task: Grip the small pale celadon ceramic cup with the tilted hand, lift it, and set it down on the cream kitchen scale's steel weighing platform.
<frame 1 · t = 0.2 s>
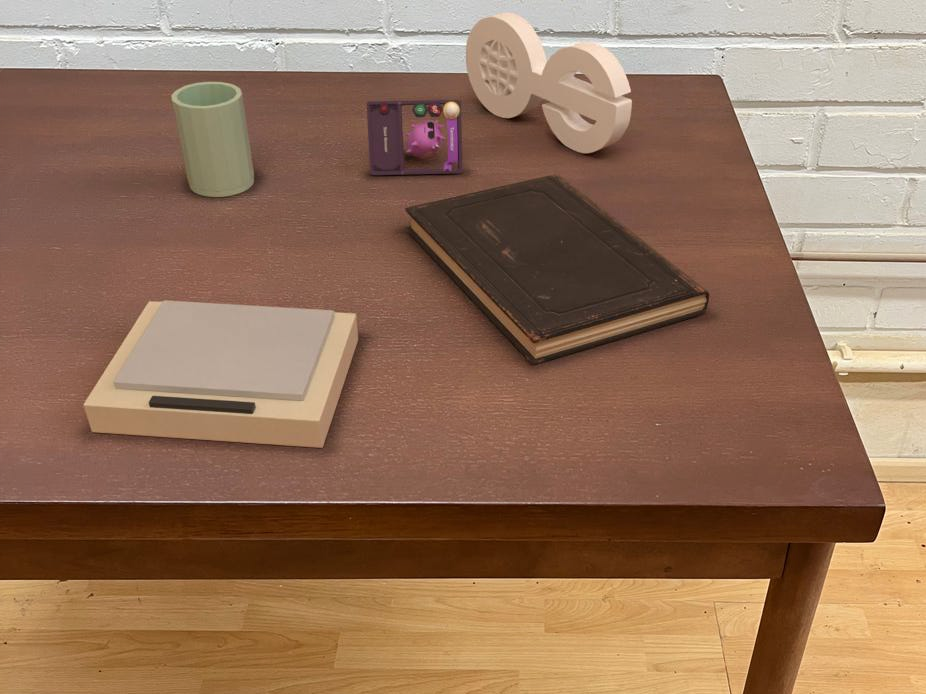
beige logo cutout: (541, 131, 107), on the table
cup: (221, 182, 97), on the table
game card: (416, 166, 100), on the table
scale: (232, 383, 73), on the table
hardcover book: (548, 272, 85), on the table
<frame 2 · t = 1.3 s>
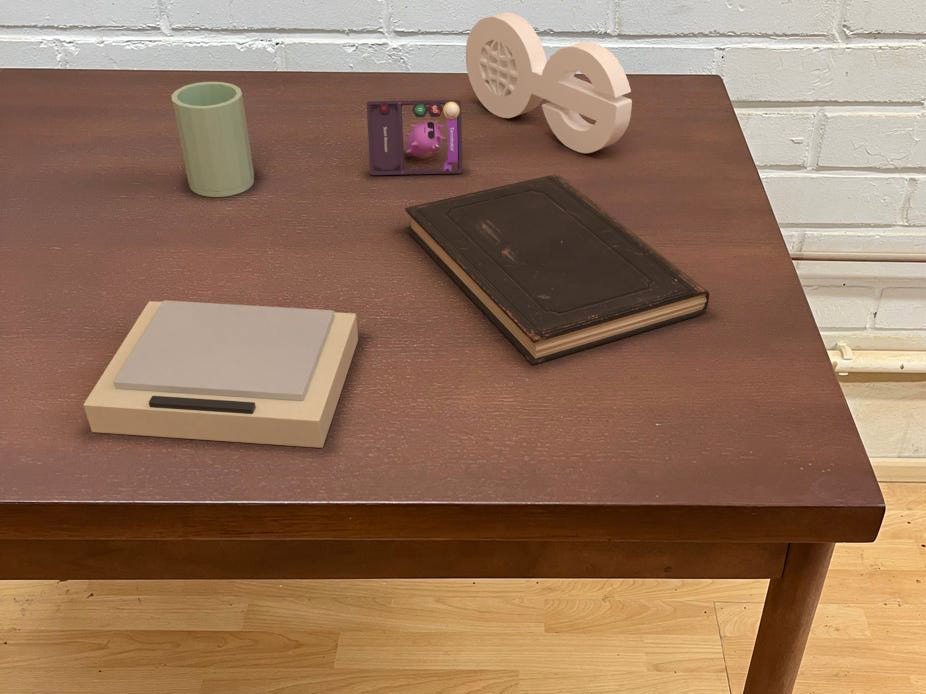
nothing on the table moved.
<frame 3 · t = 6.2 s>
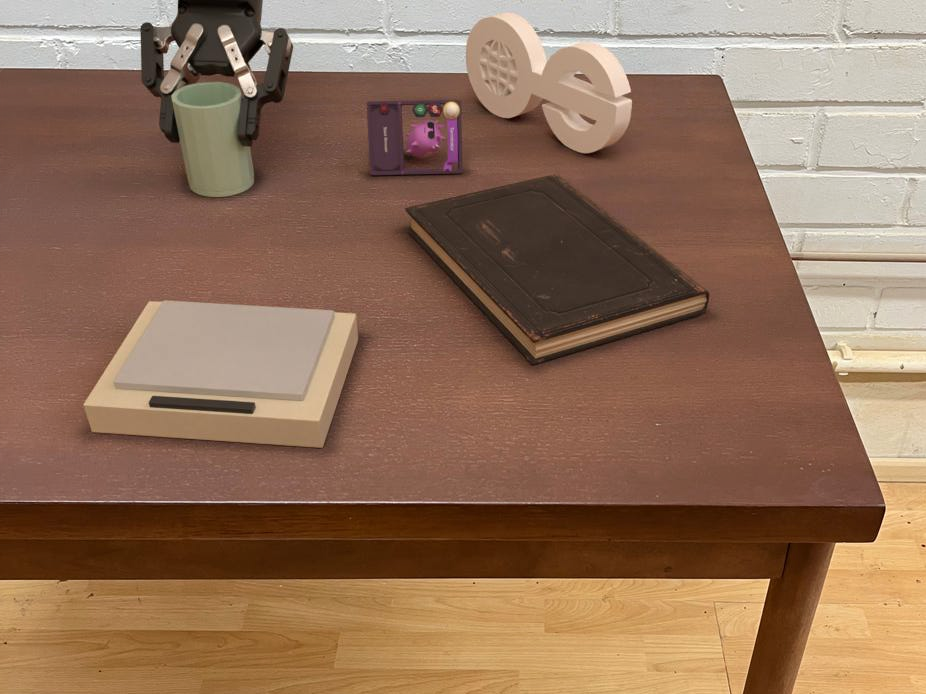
hand: (208, 140, 92), 5 cm above the table, tool tilted 45°, fingers closed on cup, 6 cm apart
cup: (221, 182, 97), on the table, touching gripper
everything else where it was.
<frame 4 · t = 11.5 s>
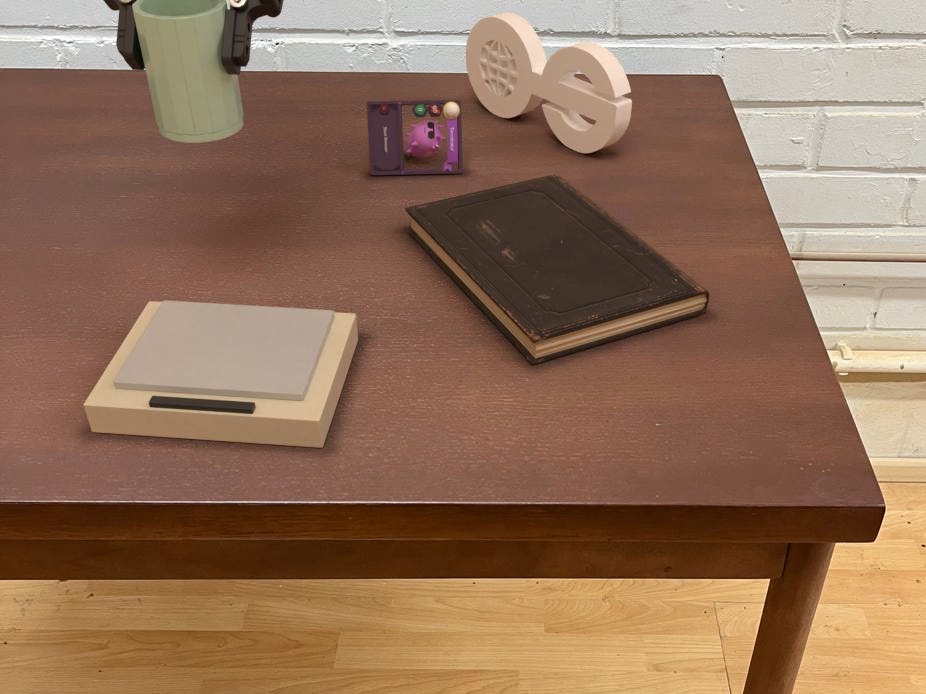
hand: (182, 66, 69), 18 cm above the table, tool tilted 45°, fingers closed on cup, 6 cm apart
cup: (201, 125, 74), point 13 cm above the table, touching gripper
everything else where it was.
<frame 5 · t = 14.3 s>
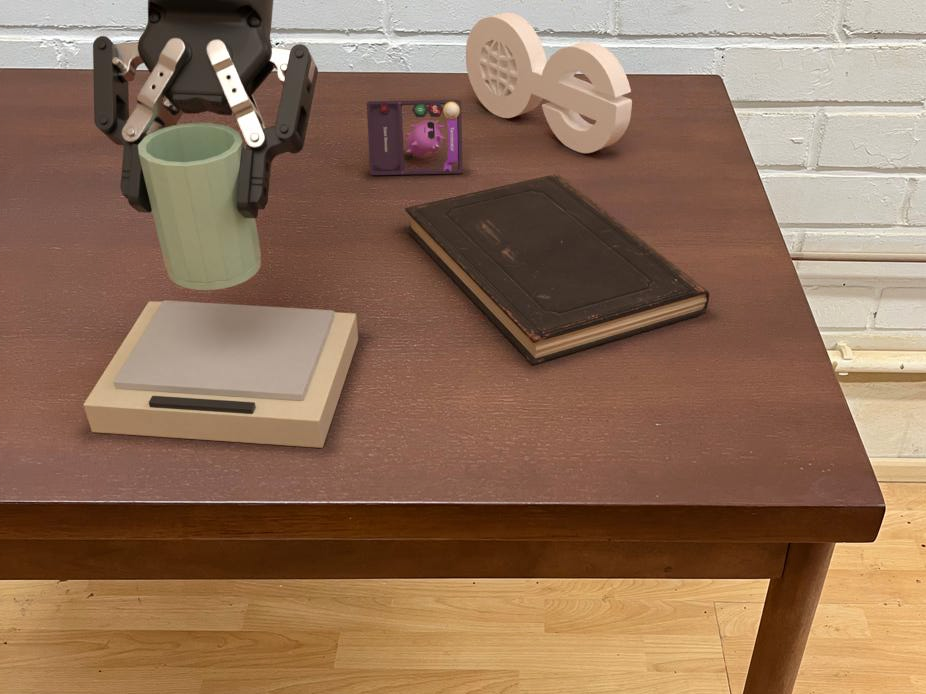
hand: (193, 210, 63), 14 cm above the table, tool tilted 45°, fingers closed on cup, 6 cm apart
cup: (214, 266, 67), point 9 cm above the table, touching gripper
everything else where it was.
when the fingers open (8 cm above the table, at t = 16.6 s): cup stays where it is, resting on scale.
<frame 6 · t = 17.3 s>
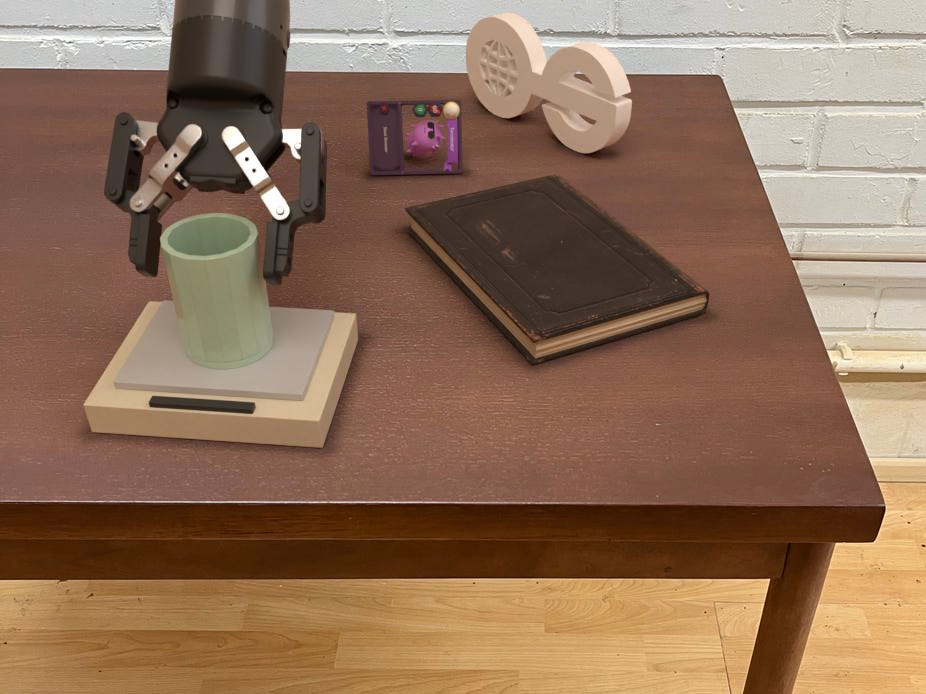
hand: (209, 278, 66), 9 cm above the table, tool tilted 45°, fingers open, 8 cm apart
cup: (229, 343, 71), point 3 cm above the table, touching scale
everything else where it was.
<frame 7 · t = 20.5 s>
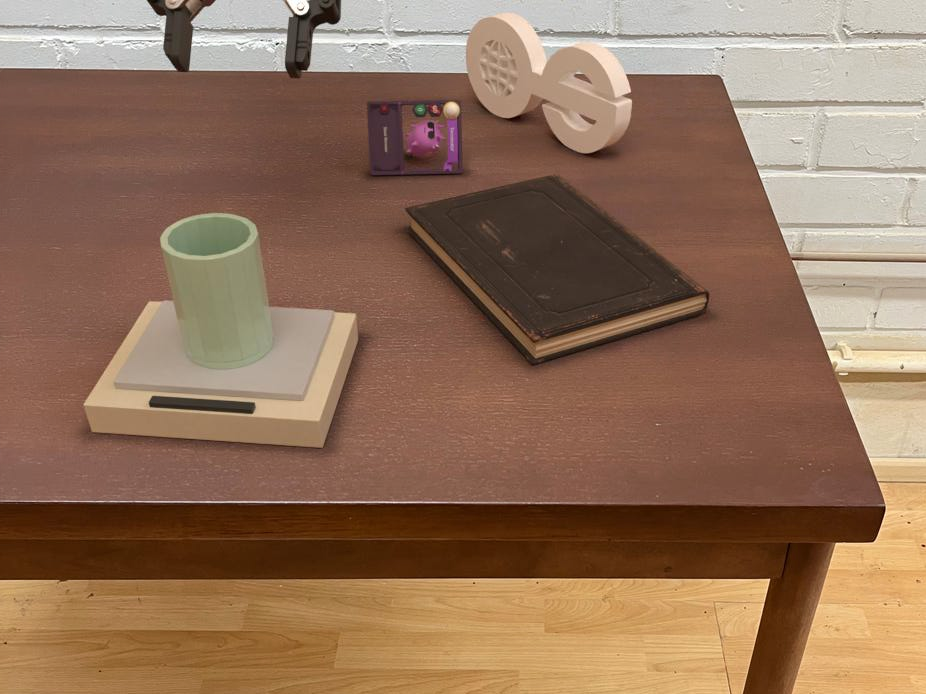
hand: (235, 70, 74), 16 cm above the table, tool tilted 45°, fingers open, 8 cm apart
nothing on the table moved.
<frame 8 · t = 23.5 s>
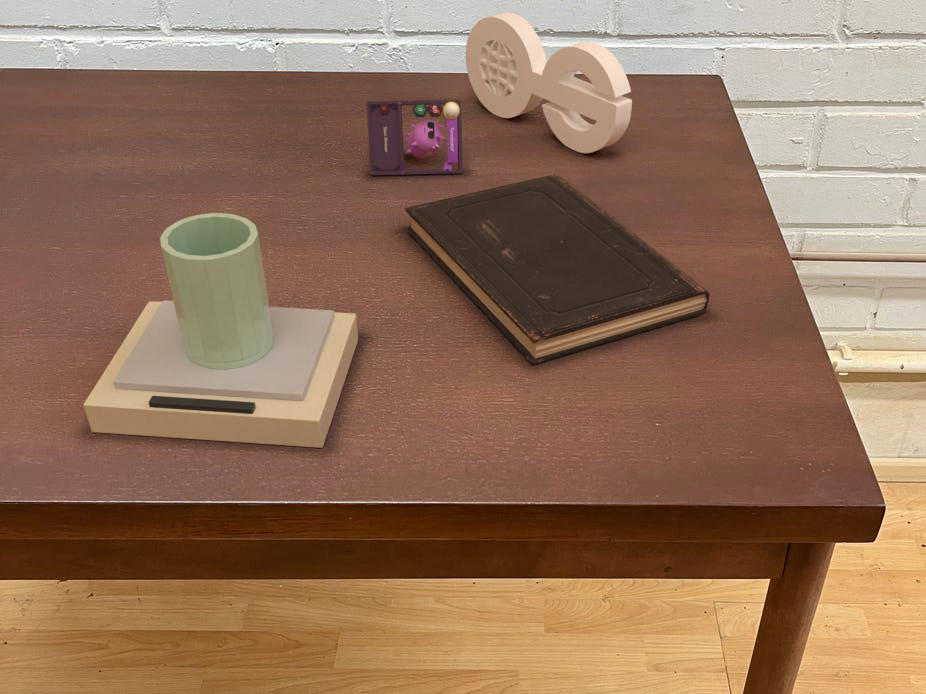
nothing on the table moved.
at the end: cup inside the target area on the scale (0.1 cm from its centre), point 3.0 cm above the scale's base; cup tilted 0°; the gripper is holding nothing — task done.
